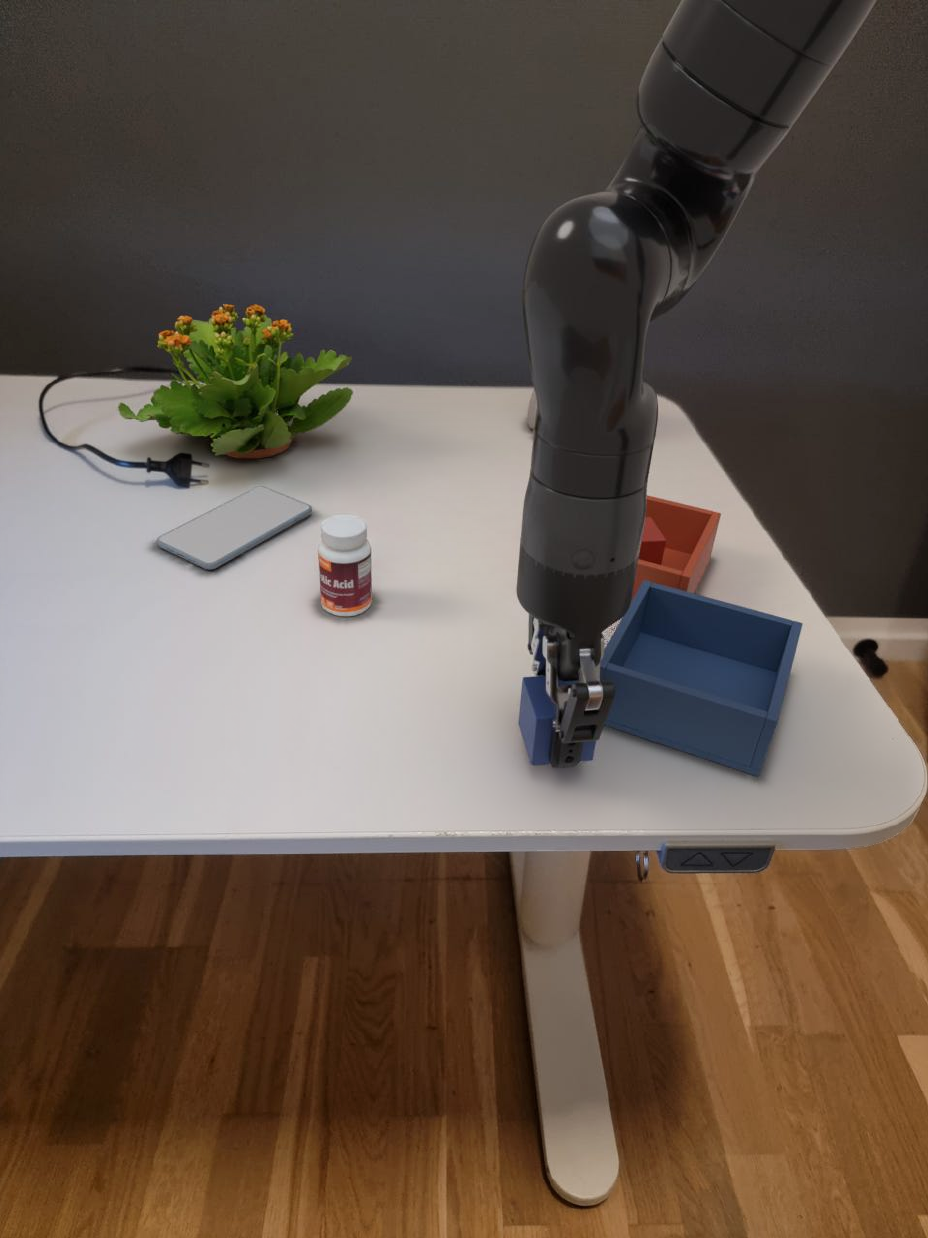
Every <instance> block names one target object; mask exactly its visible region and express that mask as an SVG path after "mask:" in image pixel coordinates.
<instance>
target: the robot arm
mask: <svg viewBox="0 0 928 1238" xmlns="http://www.w3.org/2000/svg"><path fill="white" fill-rule="evenodd" d="M876 2H877V0H680V3H679V4H678V5H677V8H676V10H675V12H674V14H673V15H672V17H671V19H670V21H669V23H668V25H667V26H666V28H665V30H664V32H663V33H662V37H661V38H660V39H659V41H658V42H657V43H658V44H657V45H656V47H655V49H654V50H653V52H652V54H651V56H650V59H649V61H648V63H647V64H646V67H645V70H644V72H643V73H642V76H641V79H640V82H639V84H638V88H637V92H636V97H635V107H636V115H637V117H638V119H639V123H640V125H639V127H638V129H637V131H636V134H635V136H634V137H633V139H632V142H631V144H630V146H629V148H628V151H627V153H626V154H625V156H624V158H623V161H622V163H621V165H620V167H619V168H618V170H617V172H616V173H615V175H614V177H613V178H612V180H611V181H610V182H609V183H608V185H607V187H606V188H605V189H603V190H600V191H595V192H592V193H588V194H584V195H581V196H579V197H578V196H577V197H574V198H573V199H570V200H568V201H566V202H564V203H563V204H561V205H560V206H559V207H557V208H556V209H555V210H553V211H552V212H551V213H550V214H549V215H547V217H546V219H545V220H544V221H543V222H542V223H541V226H540V227H539V229H538V230H537V232H536V234H535V236H534V239H533V240H532V243H531V246H530V249H529V252H528V255H527V259H526V265H525V268H524V275H523V281H522V317H523V326H524V332H525V334H524V335H525V340H526V347H527V354H528V361H529V370H530V376H531V381H532V385H533V390H535V395H536V400H537V409H536V416H535V423H534V429H533V435H532V436H533V438H532V446H531V458H530V460H531V461H530V468H529V469H530V471H529V477H528V481H527V486H526V490H525V493H524V494H525V495H524V498H523V506H522V518H521V532H520V542H519V553H518V565H517V566H518V567H517V579H516V589H515V591H516V592H515V593H516V598H517V601H518V603H519V604H520V606H521V607H522V609H524V611H525V612H526V613H527V614H528V636H527V637H528V638H527V639H528V641H527V651H528V653H529V655H532V656H533V661H532V665H531V671H532V672H533V675H534V676H546V693H547V695H548V696H549V698H550V699H551V701H552V702H553V718H552V732H551V740H550V748H549V757H548V758H549V761H550V764H549V765H550V766H551V767H552V768H553V769H559V768H561V769H562V768H570V767H576V766H577V767H578V765H579V764H580V763H581V762H580V761H581V755H582V748H583V742H584V741H599V740H600V738H601V735H602V733H603V730H604V727H605V726H606V725H605V722H606V719H607V717H608V714H609V711H610V708H611V706H612V703H613V700H614V697H615V687H614V684H613V682H612V681H601V682H600V661H601V660H602V658H603V657H604V649H605V636H604V633H603V632H605V631H606V630H607V629H608V628H609V627H611V626H612V625H614V624H615V623H617V622H618V621H621V619H622V617H623V616H624V615H625V614H626V613H627V611H628V609H629V607H630V604H631V599H632V593H633V587H634V582H635V576H636V570H637V564H638V559H639V553H640V547H641V541H642V536H643V530H644V525H645V518H646V506H647V495H648V493H647V492H648V483H649V481H648V480H649V474H650V470H651V464H652V463H651V462H652V457H653V452H654V445H655V439H656V436H657V435H656V434H657V428H658V420H659V401H658V395H657V392H656V390H655V388H654V387H653V385H652V383H650V382H649V380H648V379H646V378H645V377H644V360H645V357H644V356H645V346H646V340H647V339H646V338H647V334H648V329H649V325H650V323H652V322H653V321H655V320H656V319H658V318H660V317H662V316H663V315H665V314H666V313H668V312H670V311H671V310H672V309H674V307H675V306H677V305H678V304H679V303H680V302H681V301H682V300H683V299H684V298H685V296H686V295H687V294H688V293H689V292H690V291H691V289H692V288H693V287H694V285H695V284H696V283H697V281H698V280H699V279H700V277H701V276H702V275H703V273H704V272H705V270H707V269H706V268H707V267H708V265H709V264H710V262H711V261H712V259H713V258H714V256H715V255H716V253H717V252H718V249H720V248H719V247H720V246H721V244H722V243H723V241H724V239H725V237H726V236H727V234H728V232H729V230H730V228H731V226H732V224H733V223H734V221H735V219H736V217H737V215H738V213H739V212H740V209H742V208H741V207H742V206H743V204H744V202H745V200H746V198H747V197H748V194H749V193H750V190H751V188H752V186H753V184H754V182H755V180H756V178H757V176H758V174H759V172H760V170H761V169H762V168H763V166H764V165H765V163H766V162H767V160H768V159H769V158H770V156H771V155H772V154H773V153H774V151H776V149H777V148H778V147H779V145H780V144H781V143H782V141H784V139H785V137H786V136H787V134H789V132H790V130H791V129H792V126H793V125H795V124H796V123H797V121H798V120H799V118H800V116H801V115H802V113H803V112H804V111H805V110H806V108H807V106H808V105H809V103H810V102H811V101H812V100H813V97H814V96H815V95H816V93H817V92H818V91H819V89H820V87H821V86H822V85H823V83H824V82H825V80H826V79H827V77H828V76H829V74H830V73H831V72H832V70H833V69H834V68H835V65H836V64H837V63H838V61H839V60H840V58H842V56H843V54H844V52H845V51H846V50H847V48H848V46H849V45H850V44H851V42H852V41H853V39H854V38H855V36H856V34H857V33H858V32H859V30H860V28H861V27H862V25H863V24H864V22H865V21H866V19H867V17H868V16H869V14H870V13H871V11H872V9H873V8H874V6H875V4H876ZM558 680H561V681H579V682H578V683H574V684H571V685H558ZM566 702H567V705H566V709H565V712H564V704H565V703H566Z"/></svg>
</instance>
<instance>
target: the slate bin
mask: <svg viewBox="0 0 928 1238" xmlns="http://www.w3.org/2000/svg"><path fill="white" fill-rule="evenodd" d="M802 629H803V622H800V621H797V620H793V619H789V618H785V617H782V616H778V615H774V614H771V613H767V612H763V611H760V610H756V609H752V608H749V607H744V606H742V605H737V604H734V603H730V602H726V601H723V600H719V599H715V598H711V597H708V596H705V595H701V594H698V593H697V594H696V593H690V592H686V591H683V590H679V589H675V588H672V587H668V586H664V585H661V584H657V583H652V582H649V581H646V580H643V582H642V584H641V586H640V587H639V589H638V591H637V593H636V594H635V596H634V598H633V600H632V601H631V604H630V607H629V609H628V611H627V613H626V614H625V615H624V616H623V617H622V618H621V619H620V620H619V623H618V624H617V626H616V628H615V630H614V631H613V633H612V635H611V637H610V639H609V640H608V642H607V644H606V646H605V647H604V657H603V658H602V660H601V661H600V682H601V681H612V682H613V684H614V687H615V697H614V700H613V703H612V706H611V708H610V711H609V714H608V717H607V719H606V722H605V725H604V726H606V727H609V728H612V729H614V730H618V731H621V732H624V733H627V734H630V735H633V736H636V737H639V738H642V739H645V740H648V741H651V742H654V743H657V744H660V745H662V746H666V747H668V748H672V749H674V750H678V751H681V752H683V753H687V754H690V755H692V756H696V757H698V758H701V759H705V760H708V761H711V762H714V763H717V764H720V765H722V766H726V767H729V768H732V769H735V770H738V771H741V772H743V773H747V774H750V775H751V776H756V777H759V776H760V774H761V771H762V769H763V766H764V763H765V760H766V758H767V754H768V751H769V748H770V745H771V742H772V739H773V736H774V734H775V730H776V727H777V725H778V722H779V719H780V714H781V710H782V707H783V702H784V698H785V695H786V690H787V686H788V683H789V679H790V675H791V671H792V667H793V663H794V660H795V656H796V651H797V647H798V645H799V644H798V643H799V640H800V636H801V632H802Z"/></svg>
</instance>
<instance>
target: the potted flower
mask: <svg viewBox="0 0 928 1238" xmlns="http://www.w3.org/2000/svg"><path fill="white" fill-rule="evenodd" d="M222 305H223V307H222V306H219V308H218V309H217V310H214V311H213V312H212V314H210V318H209V319H208V321H203V320H197V319H193V318H192V317H191V316H188V315H180V316H179V317H177V318H176V319H177V321H175V323H174V329H175V330H176V331H175V330H168V329H166V330H163V331H160V332H159V333H158V334H157V335H158V341H157V345H156V347H157V348H158V349H164V350H165V352H167V353H169V354H170V355H171V357H172V358H173V359H172V361H173V364H174V365H175V367H176V368H177V369H178V372H179V374H180V376H181V378H182V379H181V378H180V377H179V376H178V375H176V374H175V373H173V372H171V375H172V376H173V377H174V378H175V379H176V380H175V379H173V380H171V381H170V383H169V386H170V387H169V386H166V385H163V384H161V385H160V386H159V388H157V389H156V390H154V391H153V393H152V396H151V397H150V403H146V404H145V405H143V408H140V409H139V410H138V412H137V414H135V412H133V410H132V409H131V408H130V407H129V405H126V403H123V402H119V404H118V406H117V411H118V412H119V415H120V416H121V417H122V418H123V419H125V420H133V419H134V420H136V421H138V422H140V423H145V422H148V421H155V422H156V423H157V424H158V427H159V428H161V429H170V433H173V434H175V435H179V434H180V435H186V436H192V437H207V436H209V438H211V440H212V442H211V443H210V446H211V447H212V449H211V451H212V452H213V453H215V454H214V456H220V455H224V456H228V457H232V458H234V459H247V460H249V459H250V460H253V459H264V458H270V457H274V456H276V455H279V454H282V453H284V452H285V451H286V450H288V449H289V447H290V446H291V444H292V439H294V437H295V435H299V434H304V433H308V432H311V431H314V430H316V429H318V428H320V427H321V426H323V425H324V424H326V423H327V422H328V421H330V420H332V419H333V418H335V416H336V415H338V414H339V413H341V411H343V410H344V408H345V407H346V406H347V405H348V404H349V403H350V401H351V399H352V396H353V394H354V391H353V389H352V388H349V387H342V388H341V387H337V388H335V389H334V390H332V389H331V390H329V391H328V392H326V394H324V393H322V394H321V395H320V396H318V398H313V400H312V401H311V402H309V403H308V404H307V406H306V405H302V406H301V405H300V404H299V402H300V399H301V397H302V396H303V395H304V394H305V393H306V392H307V391H308V390H310V389H311V388H313V387H314V386H316V385H317V384H319V383H320V382H321V381H323V380H324V379H326V378H328V377H330V376H332V375H334V374H335V373H337V372H339V371H340V370H342V369H343V368H345V367H347V366H349V365H350V364H351V362H352V359H353V357H352V356H349V357H348V355H344V354H339V355H338V357H337V352H336V351H334V350H333V349H330V350H328V351H327V352H326V350H325V349H321V350H320V352H319V356H318V357H317V359H316V360H315V358H314V357H312V356H309V357H307V358H306V359H305V361H304V357H303V355H302V353H301V352H297V353H296V354H295V356H294V357H291V356H289V355H288V352H287V351H286V350H285V351H283V352H282V345H283V344H284V343H285V342H287V341H289V340H291V339H292V338H293V337H294V333H292V330H293V329H292V326H291V325H292V324H291V323H289V321H288V320H287V319H280V320H278V319H277V320H276V319H275V320H274V321H272V318H270V317H268V316H267V315H266V314H265V312H266V309H265V308H264V307H263V306H262V305H259V304H257V303H256V304H252V305H250V306H248V307H246V311H245V317H243V318H242V323H243V324H244V325H245V327H244V328H243V330H238V331H237V327H234V324H235V323H236V320H237V319H238V318H239V315H238V313H237V312H235V311H236V309H235V308H236V306H235V305H232V304H227V303H225V304H224V303H223V304H222ZM277 352H278V354H277ZM276 354H277V355H276ZM182 356H183V357H184V358H185V359H186V362H188V363H190V364H188V368H189V369H190V371H192V372H194V374H195V375H197V376H196V378H197V379H196V378H195V377H194V376H193V375H192V374H191V373H190V371H188V369H187V368H186V365H185V361H183V360H182ZM276 360H277V361H276ZM185 374H186V375H187V376H188V377H189V378H190V379H191V380H187V378H186V376H185ZM200 382H201V383H200ZM289 422H291V423H290V425H289V424H288V423H289Z"/></svg>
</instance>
